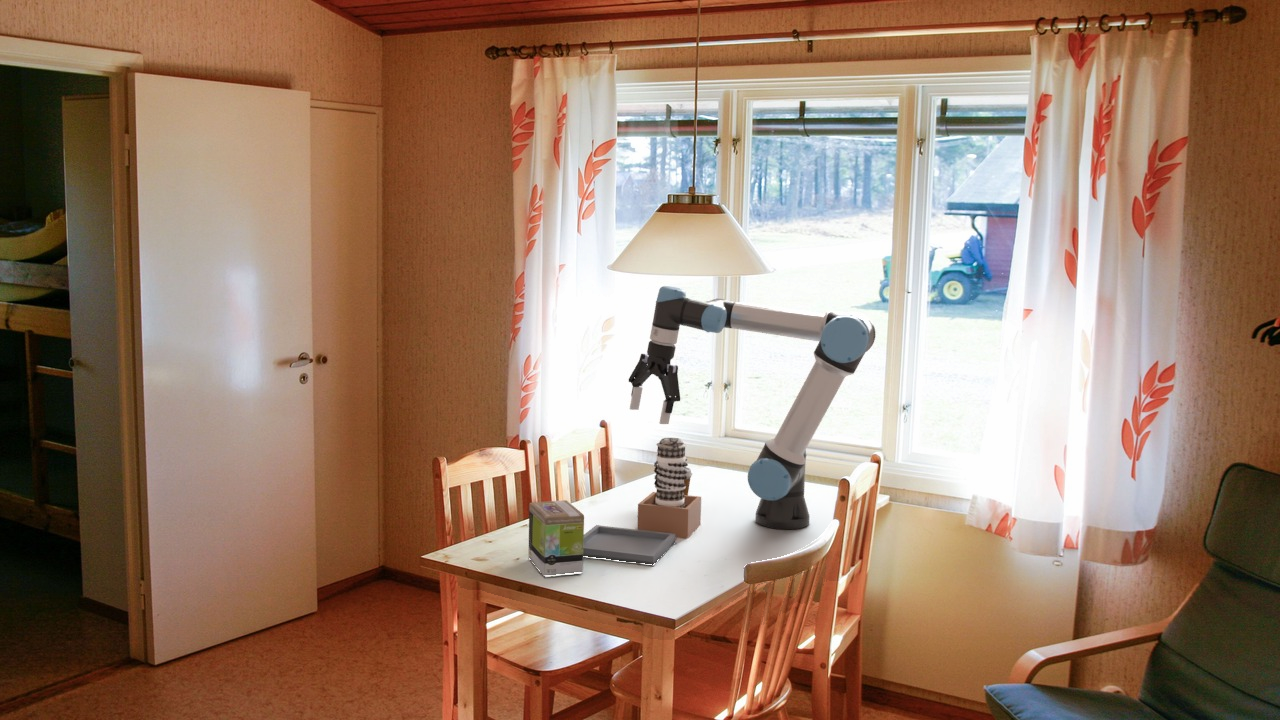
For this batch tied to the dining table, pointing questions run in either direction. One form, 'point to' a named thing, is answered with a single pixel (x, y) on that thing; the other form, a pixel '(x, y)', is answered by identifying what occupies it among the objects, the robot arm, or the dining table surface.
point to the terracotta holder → (670, 516)
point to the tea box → (556, 537)
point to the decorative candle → (670, 472)
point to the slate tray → (626, 544)
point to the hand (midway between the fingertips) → (648, 416)
